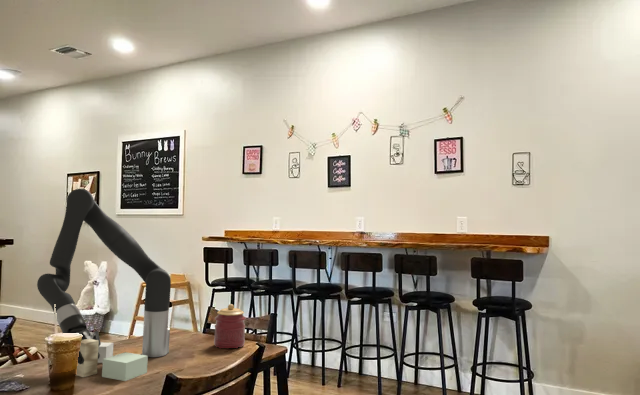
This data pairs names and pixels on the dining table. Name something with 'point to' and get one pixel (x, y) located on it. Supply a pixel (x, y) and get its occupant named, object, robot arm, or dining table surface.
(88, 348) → the birch block
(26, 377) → the dining table surface
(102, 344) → the white cube
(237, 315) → the canister
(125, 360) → the sage box
